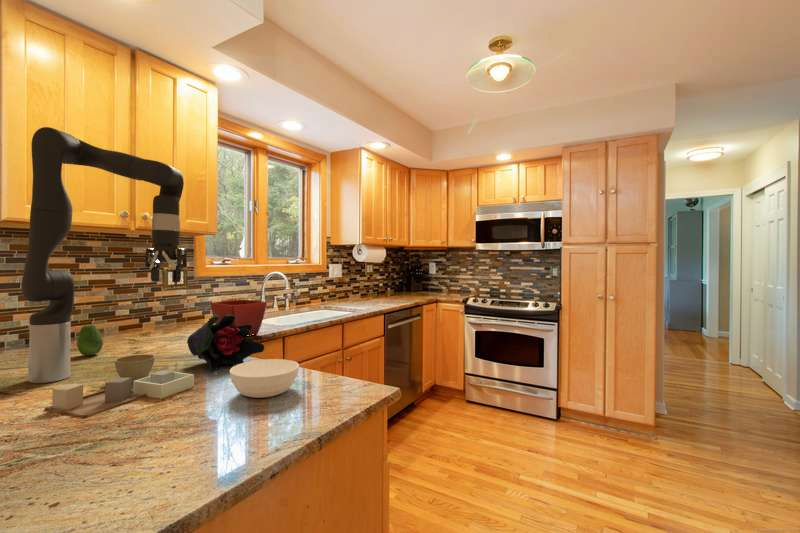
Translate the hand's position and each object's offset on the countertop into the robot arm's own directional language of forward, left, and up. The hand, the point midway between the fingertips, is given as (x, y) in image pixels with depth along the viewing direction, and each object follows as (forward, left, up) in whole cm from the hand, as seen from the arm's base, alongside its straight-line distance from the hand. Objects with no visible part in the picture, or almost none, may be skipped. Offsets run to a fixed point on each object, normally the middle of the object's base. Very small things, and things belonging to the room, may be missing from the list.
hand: (165, 281), depth 116 cm
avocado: (-52, +12, -30) cm, 61 cm away
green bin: (+11, -9, -30) cm, 33 cm away
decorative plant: (+7, +18, -30) cm, 36 cm away
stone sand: (0, -26, -30) cm, 39 cm away
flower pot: (-6, -5, -30) cm, 31 cm away
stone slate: (+10, -9, -30) cm, 33 cm away
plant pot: (-28, +64, -30) cm, 76 cm away
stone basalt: (+6, -18, -30) cm, 35 cm away
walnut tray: (+4, -21, -30) cm, 37 cm away
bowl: (+37, 0, -30) cm, 48 cm away
